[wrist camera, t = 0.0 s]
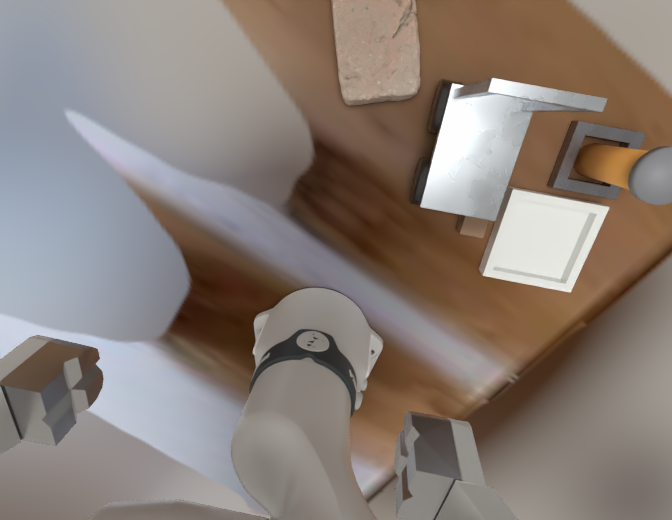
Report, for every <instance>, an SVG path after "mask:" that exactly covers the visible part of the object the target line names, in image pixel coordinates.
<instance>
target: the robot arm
mask: <svg viewBox="0 0 672 520" xmlns="http://www.w3.org/2000/svg"><path fill="white" fill-rule="evenodd" d="M261 328H262V329H261ZM254 331H255V339H256V343H255V345H254V348H253V354H254V355H255V363H256V369H255V371H254V374H253V376H252V381H251V385H250V395H249V397H248V399H247V402H246V404H245V406H244V409H243V411H242V413H241V415H240V418H239V420H238V422H237V425H236V427H235V429H234V431H233V434H232V440H231V459H232V463H233V467H234V469H235V472H236V474H237V476H238V478H239V480H240V482H241V484H242V485H243V487H244V489H245V490H246V491H247V493H248V494H249V495H250V496H251V497H252V498H253V499H254V500H255V501H256V502H258V503H259V504H260V505H261V506H262V507H263V508H264V509H265V510H266V511H267V512H268V513H269V514H270V515H271V517H270V519H269V518H265V517H260V516H255V515H250V514H246V513H241V512H236V511H232V510H227V509H222V508H217V507H213V506H207V505H203V504H198V503H194V502H188V501H184V500H137V501H116V502H111V503H109V504H107V505H105V506H104V507H102V508H101V509H99V510H97V511H96V512H94V513H93V514H92V515H90V516H89V517H88V518H87V519H85V520H378V519H377V518H376V516H375V515H374V513H373V512H372V510H371V508H370V507H369V505H368V504H367V502H366V500H365V498H364V496H363V494H362V492H361V490H360V488H359V486H358V483H357V481H356V478H355V475H354V472H353V469H352V464H351V456H350V419H351V417H352V415H353V412H354V409H356V410H357V409H359V408H360V405H361V402H362V398H363V394H362V393H360V391H361V390H363V391H365V389H366V387H367V380H366V379H367V378H368V376H369V374H370V372H371V370H372V368H373V366H374V364H375V362H376V360H377V358H378V357H379V355H380V353H381V351H382V348H383V340H382V338H381V337H380V336H379V335H378V334H377V333H376V332H374V331H373V330H372V329H371V328H370V327H369V325H368V323H367V321H366V319H365V316H364V315H363V313H362V311H361V310H360V309H359V307H358V306H357V305H356V304H355V303H354V302H353V301H352V300H350V299H349V298H348V297H346V296H344V295H342V294H340V293H338V292H336V291H333V290H329V289H324V288H306V289H301V290H298V291H295V292H293V293H291V294H289V295H288V296H286V297H285V298H283V299H282V300H281V301H280V302H279V303H278V304H277V305H276V306H275V307H274V308H272V309H270V310H267V311H264V312H261V313H259V314H258V315H257V316H256V317H255V320H254ZM371 350H374V351H373V352H371ZM99 359H100V357H99V353H98V349H96V348H93V347H89V346H85V345H81V344H76V343H72V342H68V341H63V340H59V339H54V338H49V337H45V336H40V335H36V336H33V337H29V338H28V339H27V340H25V341H24V342H23V343H21V344H20V345H19V346H18V347H16V348H15V349H14V350H12V351H11V352H10V353H8V354H7V355H6V356H4V357H3V358H2V359H0V454H1V453H3V452H5V451H7V450H8V449H10V448H12V447H13V446H15V445H17V444H18V443H20V442H21V440H25V441H30V442H36V443H41V444H47V445H53V446H57V444H58V443H59V442H60V441H61V440H62V439H63V438H64V436H65V435H66V434H67V433H68V432H69V431H70V429H71V428H72V427H73V426H74V425H75V424H76V419H77V414H78V413H80V412H82V411H84V410H86V409H88V408H89V407H90V406H91V405H92V404H93V403H94V401H95V400H96V399H97V397H98V395H99V393H100V391H101V389H102V385H103V373H102V371H101V370H100V368H99V367H98V366H97V365H96V363H97V361H98V360H99ZM395 472H396V474H397V475H398V477H399V480H398V483H397V486H396V488H395V492H396V493H395V495H396V517H397V518H401V519H405V520H518V518H517V517H516V516H515V515H514V513H513V512H512V511H511V510H510V509H509V507H508V506H507V505H506V504H505V502H504V501H503V500H502V499H501V497H500V496H499V495H498V494H497V493H496V491H495V490H494V489H493V488H492V487H488V486H486V484H485V480H484V476H483V472H482V468H481V464H480V460H479V456H478V452H477V448H476V444H475V440H474V436H473V432H472V429H471V426H470V424H469V423H468V422H464V421H459V420H454V419H449V418H448V419H447V418H445V417H440V416H434V415H429V414H424V413H418V412H413V411H408V412H407V414H406V416H405V419H404V430H403V431H401V432H400V433H399V436H398V439H397V443H396V449H395Z"/></svg>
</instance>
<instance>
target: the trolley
mask: <svg viewBox="0 0 672 520" xmlns="http://www.w3.org/2000/svg"><path fill="white" fill-rule="evenodd" d="M606 102H607V99H606V98H600V97H595V96H589V95H584V94H578V93H572V92H567V91H561V90H556V89H550V88H545V87H539V86H534V85H528V84H523V83H517V82H512V81H506V80H501V79H495V78H491V79H487V80H484V81H480V82H477V83H473V84H470V85H466V86H463V85H462V83H460V82H455V81H449V80H444V79H441V80H440V82H439V84H438V87H437V89H436V92H435V95H434V99H433V102H432V106H431V110H430V115H429V121H428V131H429V132H434V133H437V137H436V141H435V145H434V148H433V152H432V156H431V159H427V158H420V160H419V162H418V165H417V168H416V171H415V175H414V179H413V184H412V189H411V196H410V202H411V203H412V204H417V205H420V207H423V208H428V209H434V210H439V211H444V212H450V213H455V214H460V215H465V216H471V217H476V218H481V219H486V220H492V221H495V220H496V217H497V214H498V211H499V209H500V206H501V203H502V200H503V197H504V194H505V191H506V188H507V185H508V182H509V180H510V177H511V174H512V171H513V168H514V165H515V162H516V159H517V156H518V153H519V151H520V148H521V145H522V142H523V139H524V136H525V133H526V130H527V127H528V124H529V122H530V119H531V116H532V113H533V112H602V111H603V109H604V106H605V104H606Z"/></svg>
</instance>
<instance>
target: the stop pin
mask: <svg viewBox="0 0 672 520" xmlns="http://www.w3.org/2000/svg"><path fill="white" fill-rule="evenodd" d="M574 168H575V170H576V172H577V173H579V174H580V175H583V176H586V177H590V178H593V179H596V180H599V181H603V182H606V183H609V184H613V185H616V186H619V187H622V188H626V189H629V190H630V192H631V194H632V195H633V196H634V197H635V198H637V199H638V200H641V201H643V202H646V203H649V204H653V205H664V204H669V203H672V147H671V146H663V147H658V148H655V149H652V150H650V151H645V150H638V149H631V148H624V147H617V146H610V145H603V144H596V143H593V144H588V145H586V146H584V147H582V148H581V149H580V150H579V152H578V154H577V157H576V159H575V162H574Z"/></svg>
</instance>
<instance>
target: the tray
mask: <svg viewBox="0 0 672 520" xmlns="http://www.w3.org/2000/svg"><path fill="white" fill-rule="evenodd" d="M609 208H610V207H608V206H606V205H603V204H601V203H596V202H591V201H585V200H580V199H575V198H569V197H564V196H559V195H553V194H548V193H543V192H537V191H532V190H527V189H521V188H516V187H511V186H507V188H506V191H505V194H504V197H503V200H502V203H501V206H500V209H499V212H498V215H497V217H496V220H495V223H494V226H493V229H492V232H491V235H490V238H489V241H488V244H487V246H486V249H485V252H484V255H483V258H482V261H481V264H480V267H479V271H480V272H481V274H482V275H483V276H487V277H492V278H498V279H503V280H508V281H513V282H518V283H523V284H529V285H534V286H539V287H544V288H549V289H555V290H560V291H565V292H570V293H571V290H572V288H573V286H574V284H575V282H576V279H577V277H578V275H579V273H580V271H581V269H582V266H583V264H584V262H585V260H586V258H587V256H588V253H589V251H590V249H591V247H592V245H593V242H594V240H595V238H596V236H597V234H598V232H599V229H600V227H601V225H602V223H603V221H604V219H605V216H606V214H607V212H608V210H609Z"/></svg>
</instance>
